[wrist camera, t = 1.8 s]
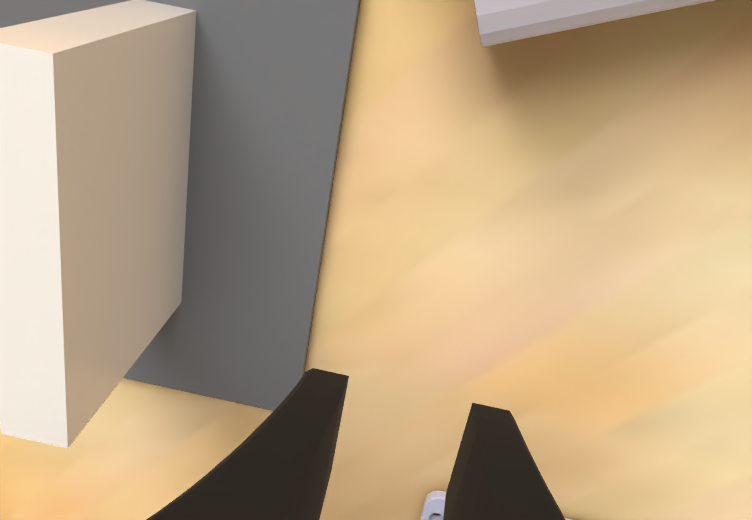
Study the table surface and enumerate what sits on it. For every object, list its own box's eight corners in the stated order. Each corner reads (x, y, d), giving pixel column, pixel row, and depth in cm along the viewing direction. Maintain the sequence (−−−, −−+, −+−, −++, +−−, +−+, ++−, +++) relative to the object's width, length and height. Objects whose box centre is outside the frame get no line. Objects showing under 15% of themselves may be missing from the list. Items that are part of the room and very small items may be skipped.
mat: (298, 408, 24) (296, 415, 24) (-88, 323, 25) (-96, 329, 24) (363, -21, 18) (360, -20, 18) (-155, -122, 18) (-167, -123, 18)
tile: (181, 302, 22) (67, 448, 16) (128, 290, 22) (-6, 432, 16) (196, 10, 18) (52, 53, 12) (131, -3, 18) (-45, 34, 12)
